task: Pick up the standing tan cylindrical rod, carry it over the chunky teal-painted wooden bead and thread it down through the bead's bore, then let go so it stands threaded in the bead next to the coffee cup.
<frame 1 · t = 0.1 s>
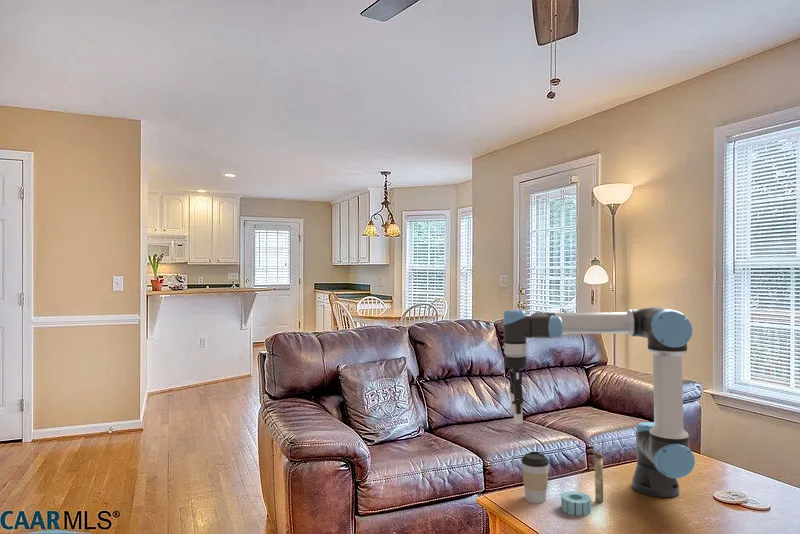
hand: (516, 417, 179), 28 cm above the table, fingers open, 13 cm apart
tan cylindrical rod: (599, 501, 177), on the table
bead: (576, 509, 171), on the table
coffee cup: (535, 499, 179), on the table
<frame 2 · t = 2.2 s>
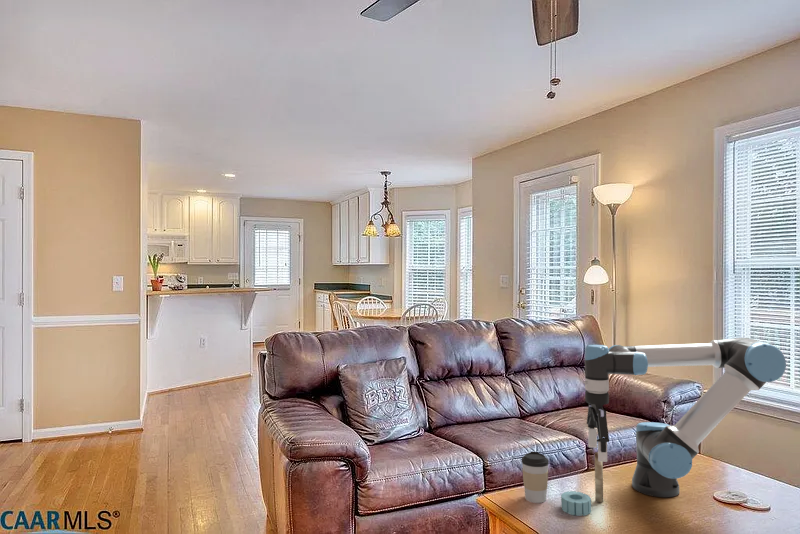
hand: (597, 454, 177), 16 cm above the table, fingers open, 13 cm apart
nothing on the table moved.
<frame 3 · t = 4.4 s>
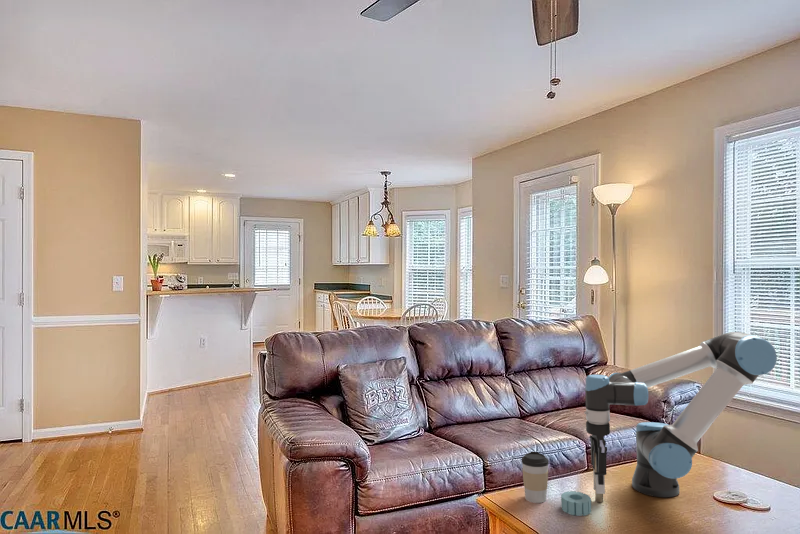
hand: (599, 491, 177), 3 cm above the table, fingers closed on tan cylindrical rod, 2 cm apart
tan cylindrical rod: (599, 501, 177), on the table, touching gripper
everything else where it was.
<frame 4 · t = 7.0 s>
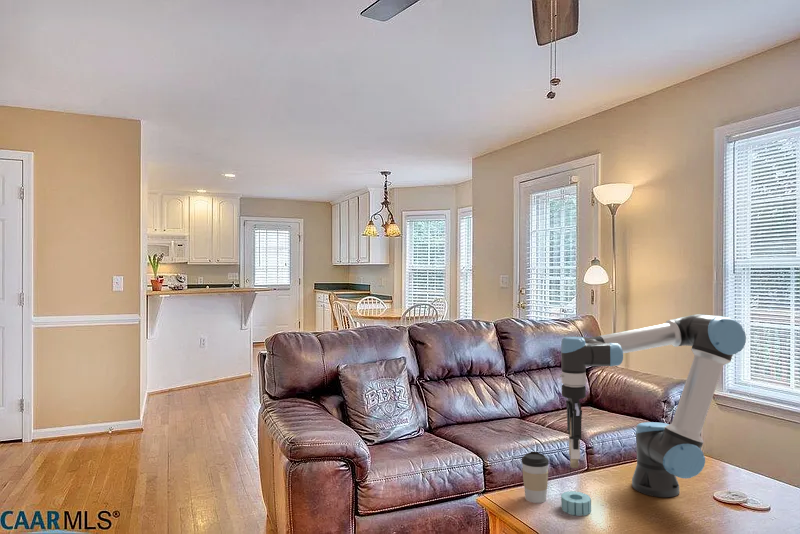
hand: (574, 456, 171), 17 cm above the table, fingers closed on tan cylindrical rod, 2 cm apart
tan cylindrical rod: (574, 466, 171), point 14 cm above the table, touching gripper
everything else where it was.
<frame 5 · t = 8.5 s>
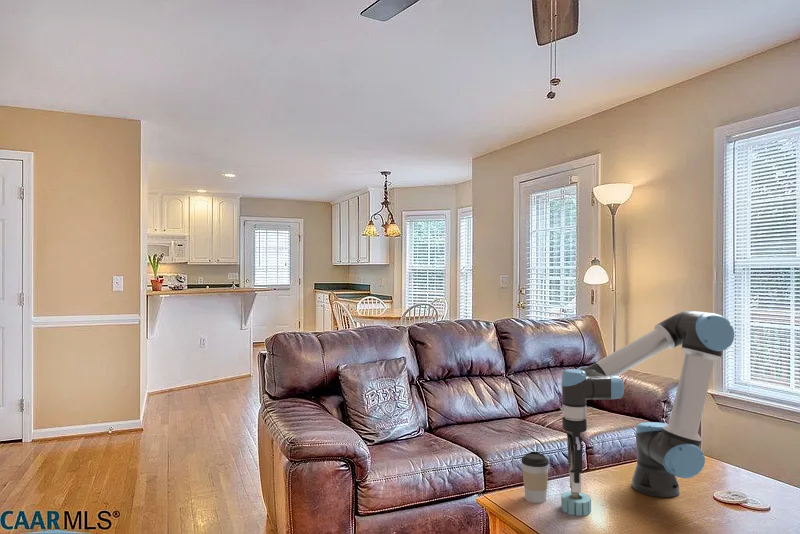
hand: (575, 489, 171), 6 cm above the table, fingers closed on tan cylindrical rod, 2 cm apart
tan cylindrical rod: (575, 499, 171), point 3 cm above the table, touching gripper
everything else where it was.
when the fingers open (5 cm above the table, at t = 9.6 s): tan cylindrical rod drops 1 cm, resting in bead.
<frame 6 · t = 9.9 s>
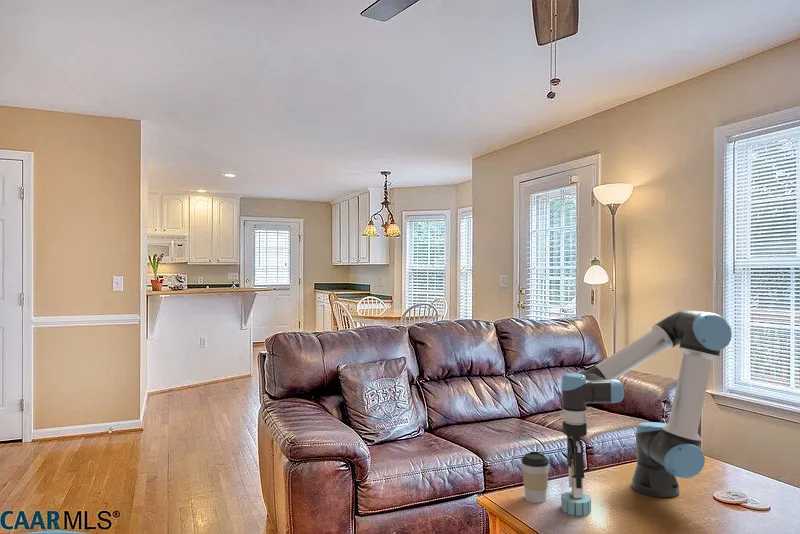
hand: (575, 492, 171), 6 cm above the table, fingers open, 7 cm apart
tan cylindrical rod: (575, 509, 171), resting in bead
everything else where it was.
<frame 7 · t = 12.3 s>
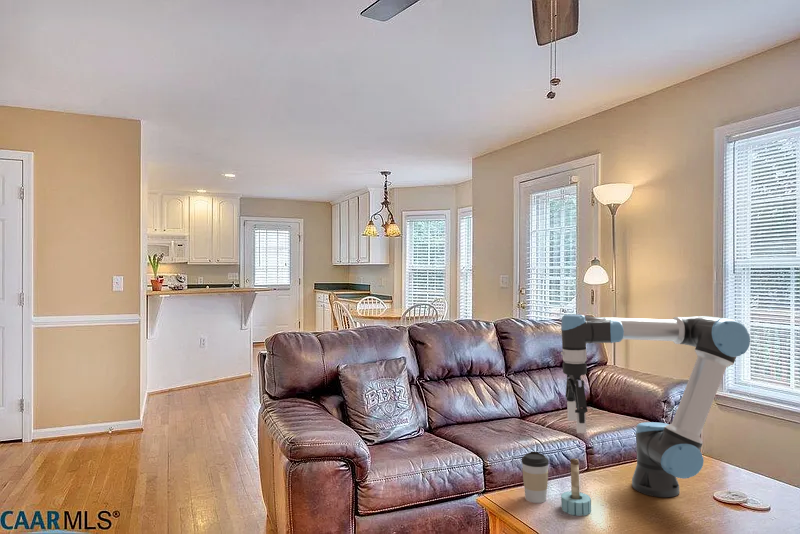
hand: (576, 426, 172), 27 cm above the table, fingers open, 13 cm apart
nothing on the table moved.
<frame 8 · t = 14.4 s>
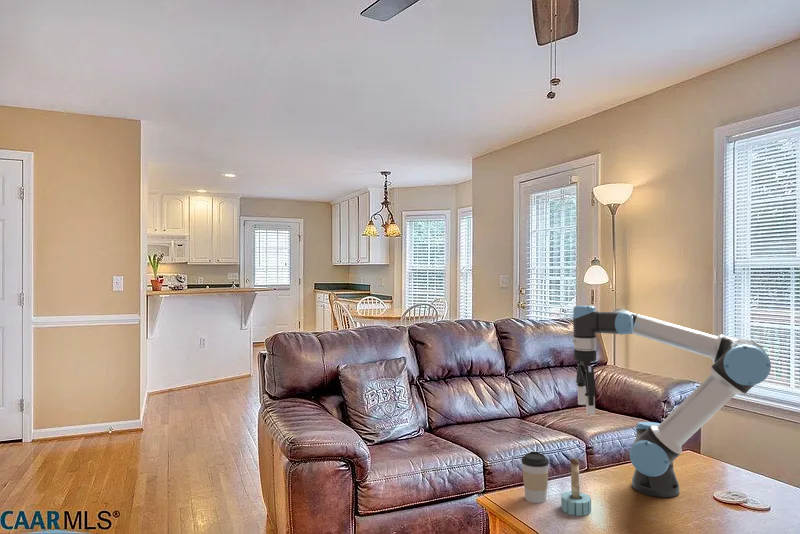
hand: (586, 409, 185), 29 cm above the table, fingers open, 13 cm apart
nothing on the table moved.
at the end: tan cylindrical rod 0.1 cm off-centre on the bead, point 0.0 cm above the bead's base; tan cylindrical rod tilted 1°; the gripper is holding nothing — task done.
